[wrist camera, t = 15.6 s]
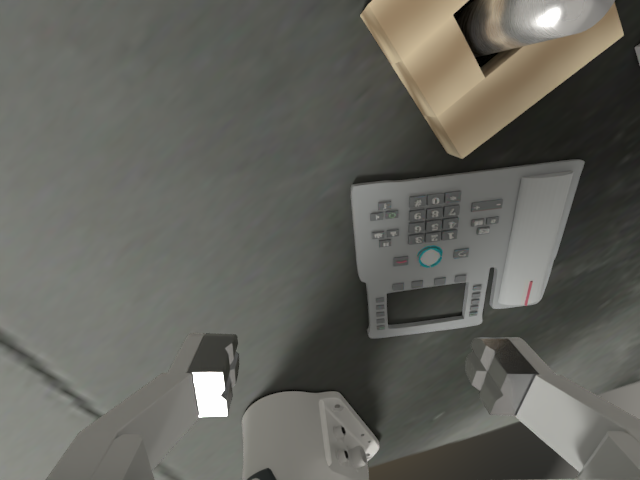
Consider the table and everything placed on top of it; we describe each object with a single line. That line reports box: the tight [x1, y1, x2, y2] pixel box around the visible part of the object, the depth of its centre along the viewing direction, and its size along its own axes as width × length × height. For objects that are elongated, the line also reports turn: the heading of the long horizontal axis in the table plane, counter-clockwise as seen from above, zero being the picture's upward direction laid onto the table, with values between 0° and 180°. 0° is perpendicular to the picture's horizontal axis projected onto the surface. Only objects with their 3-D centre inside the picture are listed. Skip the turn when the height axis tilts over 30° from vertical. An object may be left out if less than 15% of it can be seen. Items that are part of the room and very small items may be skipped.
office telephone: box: [351, 159, 585, 338], centre depth 33 cm, size 23×3×20 cm
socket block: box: [360, 0, 624, 159], centre depth 23 cm, size 14×14×3 cm
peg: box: [457, 0, 615, 57], centre depth 20 cm, size 4×4×10 cm
